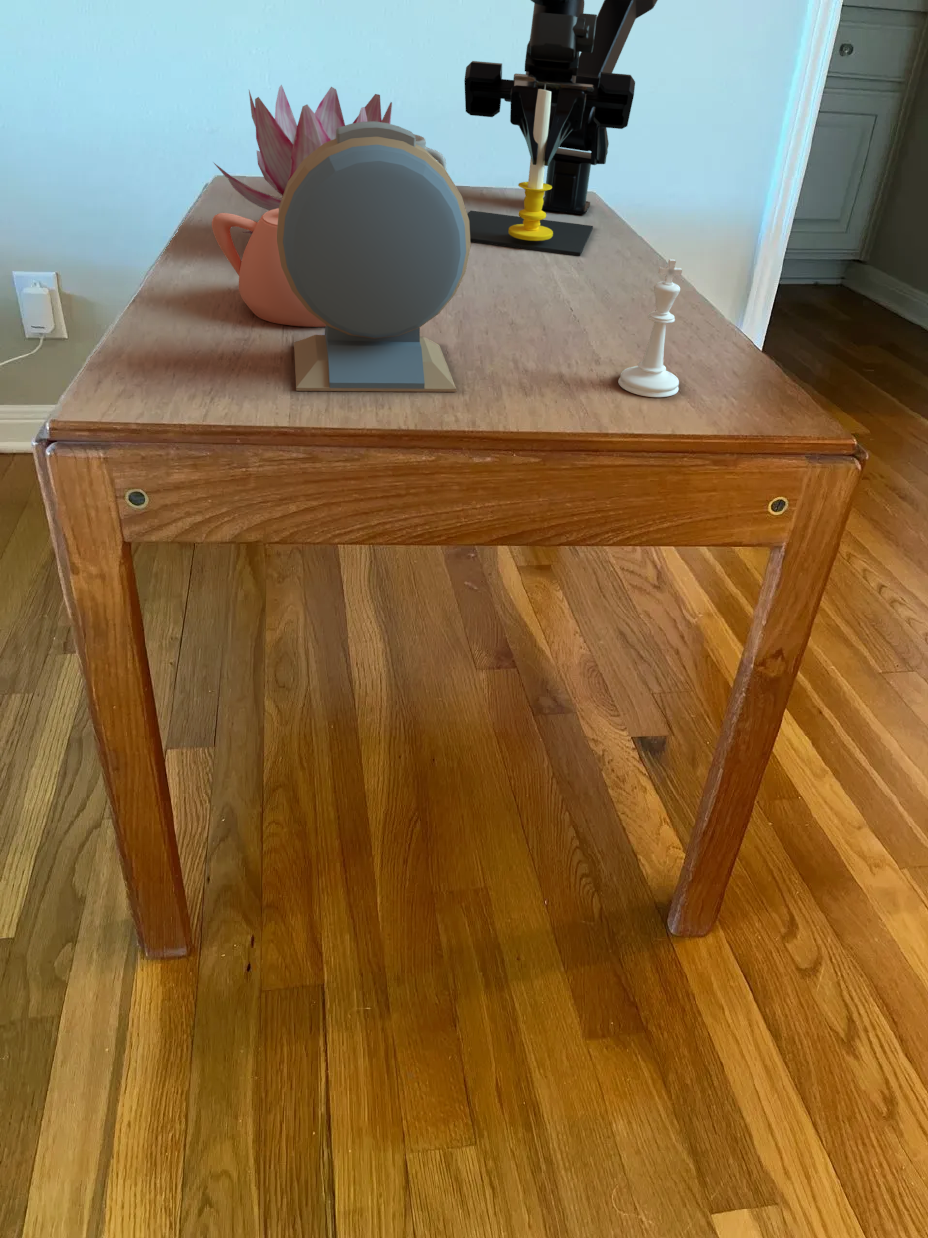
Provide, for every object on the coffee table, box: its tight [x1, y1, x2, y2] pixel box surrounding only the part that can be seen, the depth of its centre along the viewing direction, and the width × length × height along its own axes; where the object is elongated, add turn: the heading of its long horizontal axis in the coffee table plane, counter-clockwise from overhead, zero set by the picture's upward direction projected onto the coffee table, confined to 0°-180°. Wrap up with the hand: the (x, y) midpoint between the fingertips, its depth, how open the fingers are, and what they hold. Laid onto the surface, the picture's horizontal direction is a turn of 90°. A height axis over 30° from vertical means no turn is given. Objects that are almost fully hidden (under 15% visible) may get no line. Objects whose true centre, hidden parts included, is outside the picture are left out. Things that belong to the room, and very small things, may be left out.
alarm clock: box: [277, 121, 472, 393], centre depth 71 cm, size 14×10×18 cm
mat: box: [467, 210, 594, 257], centre depth 116 cm, size 14×16×1 cm
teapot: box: [211, 208, 326, 328], centre depth 85 cm, size 12×18×10 cm
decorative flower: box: [212, 84, 393, 235], centre depth 99 cm, size 21×21×15 cm
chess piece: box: [617, 258, 683, 398], centre depth 75 cm, size 5×5×10 cm
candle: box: [508, 84, 553, 241], centre depth 107 cm, size 5×5×16 cm
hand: (540, 162), depth 105 cm, fingers closed on candle
